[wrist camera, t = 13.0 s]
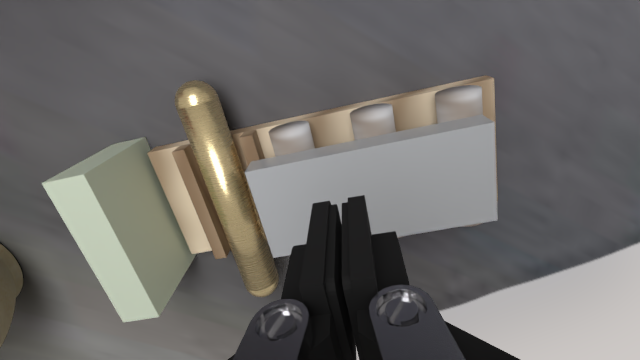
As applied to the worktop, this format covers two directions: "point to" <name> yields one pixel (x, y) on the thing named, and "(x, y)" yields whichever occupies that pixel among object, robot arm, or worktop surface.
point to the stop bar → (124, 227)
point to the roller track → (321, 136)
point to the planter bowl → (8, 289)
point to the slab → (383, 181)
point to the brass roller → (227, 184)
